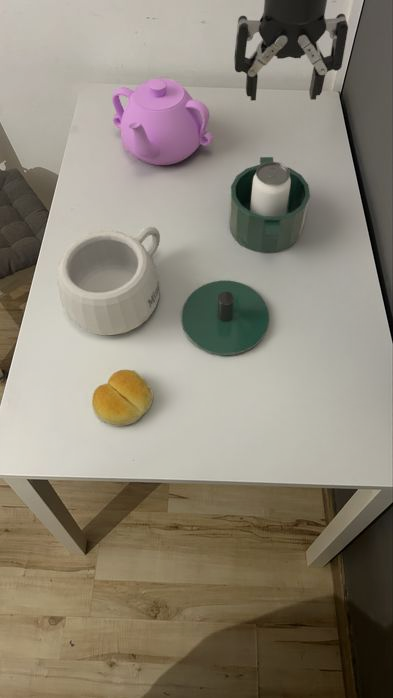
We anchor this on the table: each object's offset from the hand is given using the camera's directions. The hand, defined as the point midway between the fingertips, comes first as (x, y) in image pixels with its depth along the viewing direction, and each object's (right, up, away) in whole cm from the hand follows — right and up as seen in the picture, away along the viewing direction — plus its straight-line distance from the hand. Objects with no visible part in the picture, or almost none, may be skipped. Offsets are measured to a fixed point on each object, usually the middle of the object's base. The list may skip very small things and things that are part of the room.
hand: (282, 96), depth 72 cm
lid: (-8, -31, +12) cm, 34 cm away
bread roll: (-24, -44, +6) cm, 51 cm away
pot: (+1, -13, +23) cm, 26 cm away
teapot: (-20, +5, +34) cm, 40 cm away
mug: (-25, -26, +16) cm, 40 cm away
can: (+1, -13, +22) cm, 26 cm away
